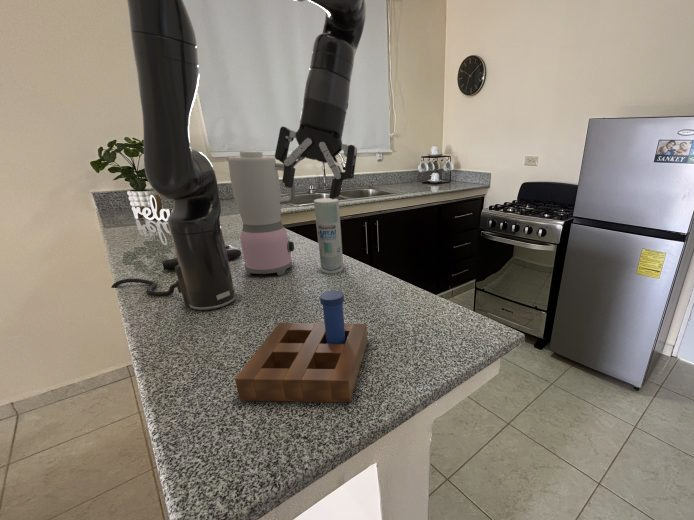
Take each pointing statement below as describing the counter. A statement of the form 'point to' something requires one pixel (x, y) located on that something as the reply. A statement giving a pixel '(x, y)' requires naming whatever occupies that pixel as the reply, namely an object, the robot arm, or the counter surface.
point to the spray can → (329, 234)
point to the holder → (303, 365)
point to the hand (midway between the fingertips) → (310, 193)
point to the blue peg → (333, 316)
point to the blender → (261, 212)
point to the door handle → (172, 263)
